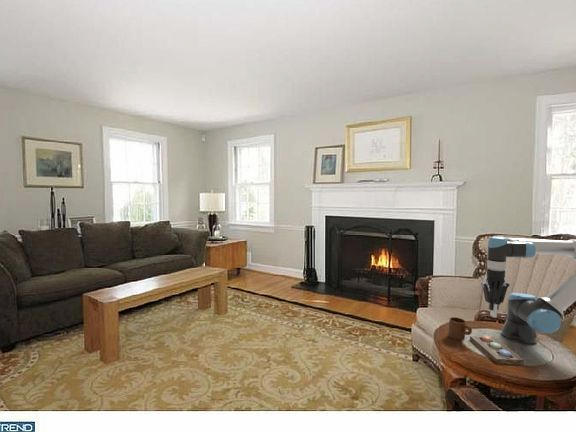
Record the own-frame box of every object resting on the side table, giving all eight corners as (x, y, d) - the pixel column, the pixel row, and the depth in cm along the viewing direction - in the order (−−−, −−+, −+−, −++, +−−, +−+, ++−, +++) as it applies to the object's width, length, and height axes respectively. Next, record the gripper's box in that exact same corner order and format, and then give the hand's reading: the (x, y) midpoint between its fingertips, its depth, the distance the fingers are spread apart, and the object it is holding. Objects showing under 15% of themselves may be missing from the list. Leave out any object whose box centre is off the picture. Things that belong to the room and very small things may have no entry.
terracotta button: (488, 341, 164) (488, 335, 163) (493, 345, 159) (494, 339, 159) (479, 340, 164) (479, 335, 163) (484, 345, 159) (484, 339, 159)
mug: (475, 343, 162) (477, 325, 161) (464, 346, 159) (466, 327, 158) (455, 333, 173) (456, 316, 172) (444, 335, 170) (446, 318, 169)
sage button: (496, 348, 157) (497, 342, 156) (502, 352, 152) (503, 346, 152) (487, 347, 157) (488, 341, 156) (493, 352, 152) (493, 346, 152)
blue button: (506, 355, 150) (506, 349, 149) (512, 360, 145) (513, 354, 145) (496, 355, 150) (497, 349, 149) (502, 360, 145) (503, 354, 145)
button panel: (493, 340, 165) (493, 336, 165) (523, 364, 143) (524, 359, 143) (469, 339, 166) (470, 336, 165) (496, 363, 144) (496, 358, 144)
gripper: (503, 266, 160) (500, 313, 162) (477, 267, 159) (475, 313, 161) (514, 270, 152) (511, 319, 154) (488, 271, 152) (485, 319, 154)
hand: (493, 316), depth 158 cm, fingers closed
